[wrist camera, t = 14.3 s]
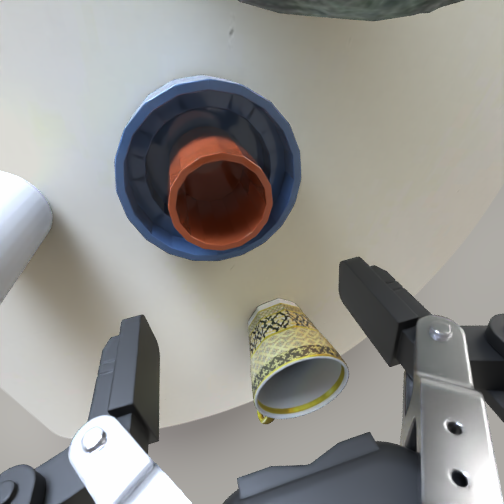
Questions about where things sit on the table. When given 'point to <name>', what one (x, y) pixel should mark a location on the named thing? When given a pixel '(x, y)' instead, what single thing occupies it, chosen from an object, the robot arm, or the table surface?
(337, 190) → the table surface
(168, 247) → the bowl
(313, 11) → the decorative bowl
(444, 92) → the table surface
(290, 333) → the ceramic cup
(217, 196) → the cup
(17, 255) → the beverage can
